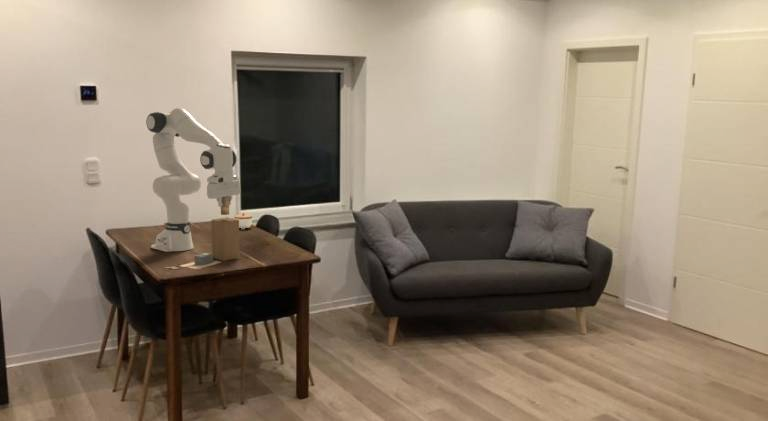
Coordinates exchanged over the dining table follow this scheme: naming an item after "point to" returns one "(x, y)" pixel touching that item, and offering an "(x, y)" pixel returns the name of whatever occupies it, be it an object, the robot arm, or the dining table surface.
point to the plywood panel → (196, 266)
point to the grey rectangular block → (203, 259)
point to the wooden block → (225, 238)
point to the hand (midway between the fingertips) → (224, 205)
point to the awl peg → (225, 206)
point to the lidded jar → (244, 220)
